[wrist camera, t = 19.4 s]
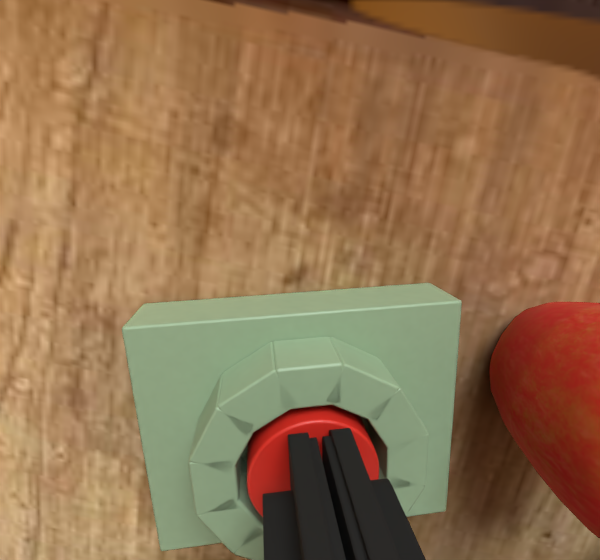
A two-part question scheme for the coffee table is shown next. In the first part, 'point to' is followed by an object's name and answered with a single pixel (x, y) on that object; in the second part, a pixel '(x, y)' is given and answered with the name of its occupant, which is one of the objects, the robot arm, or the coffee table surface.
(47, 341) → the coffee table surface
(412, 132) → the coffee table surface
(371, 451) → the button
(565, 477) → the apple
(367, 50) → the coffee table surface
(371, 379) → the control block
